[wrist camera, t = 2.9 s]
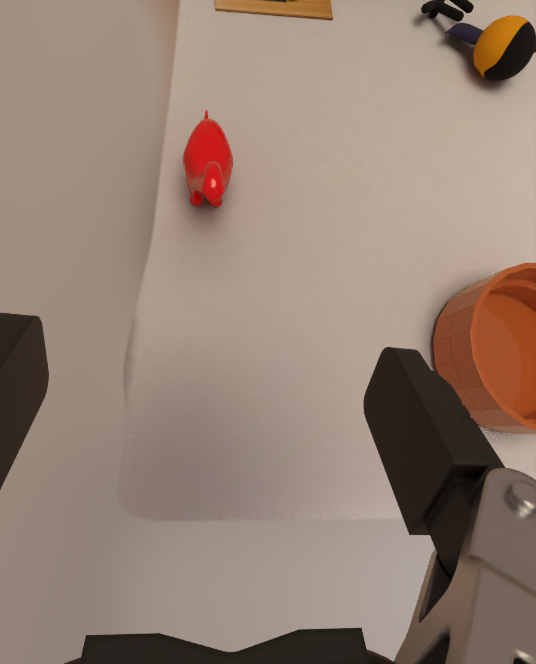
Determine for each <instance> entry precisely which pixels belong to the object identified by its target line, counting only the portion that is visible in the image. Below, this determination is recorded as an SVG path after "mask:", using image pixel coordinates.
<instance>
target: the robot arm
mask: <svg viewBox="0 0 536 664" xmlns="http://www.w3.org/2000/svg"><path fill="white" fill-rule="evenodd" d="M48 380H49V371H48V363H47V356H46V349H45V341H44V335H43V327H42V322H41V320H40V318H39V317H38V316H30V315H20V314H9V313H0V489H1V487H2V485H3V483H4V481H5V479H6V477H7V474H8V472H9V470H10V468H11V466H12V464H13V462H14V460H15V458H16V456H17V454H18V452H19V449H20V448H21V446H22V444H23V441H24V439H25V437H26V435H27V433H28V431H29V429H30V427H31V425H32V423H33V421H34V419H35V417H36V414H37V412H38V410H39V408H40V406H41V404H42V402H43V400H44V398H45V395H46V392H47V387H48ZM364 414H365V418H366V421H367V423H368V426H369V429H370V431H371V434H372V437H373V439H374V442H375V444H376V447H377V450H378V452H379V455H380V458H381V460H382V463H383V466H384V468H385V471H386V474H387V476H388V479H389V482H390V484H391V487H392V490H393V492H394V495H395V498H396V500H397V503H398V506H399V508H400V511H401V514H402V516H403V519H404V521H405V524H406V527H407V530H408V532H409V535H430V536H431V539H432V541H433V544H434V546H435V550H434V551H433V553H432V555H431V558H430V561H429V564H428V568H427V571H426V575H425V578H424V581H423V584H422V588H421V591H420V595H419V598H418V601H417V605H416V607H415V611H414V615H413V618H412V621H411V624H410V627H409V630H408V633H407V635H406V638H405V640H404V642H403V644H402V646H401V647H400V649H399V651H398V653H397V655H396V658H395V660H394V662H393V661H391V660H389V659H388V658H386V657H384V656H381V655H379V654H377V653H375V652H373V651H370V650H367V649H366V645H365V642H364V637H363V633H362V628H340V629H304V630H303V629H302V630H297V631H294V632H291V633H288V634H285V635H282V636H280V637H277V638H274V639H271V640H269V641H266V642H263V643H260V644H257V645H254V646H252V647H249V648H246V649H243V650H240V651H237V652H225V651H221V650H217V649H213V648H210V647H206V646H203V645H199V644H196V643H192V642H189V641H185V640H181V639H178V638H174V637H170V636H167V635H163V634H160V633H155V634H121V635H120V634H118V635H86V639H85V643H84V647H83V652H82V656H81V658H78V659H75V660H72V661H69V662H67V663H64V664H536V480H535V479H533V478H532V477H530V476H528V475H527V474H524V473H522V472H520V471H517V470H514V469H509V468H505V466H504V465H503V463H502V462H501V460H500V459H499V457H498V456H497V454H496V453H495V451H494V450H493V448H492V447H491V445H490V443H489V442H488V440H487V439H486V437H485V436H484V434H483V433H482V431H481V430H480V428H479V427H478V425H477V424H476V422H475V421H474V419H473V418H471V417H470V415H471V414H470V413H469V411H468V410H467V408H466V407H465V405H462V401H461V399H460V398H459V396H458V395H457V393H456V392H455V390H454V388H453V387H452V385H450V384H449V383H448V382H447V381H446V380H445V379H443V378H442V377H441V376H440V375H439V374H438V373H437V372H435V371H431V370H430V368H429V367H428V365H427V364H426V362H425V360H424V359H423V357H422V356H421V354H420V353H419V351H417V350H414V349H403V348H392V347H386V348H385V349H384V350H383V351H382V352H381V355H380V357H379V360H378V362H377V365H376V367H375V370H374V372H373V375H372V377H371V380H370V382H369V385H368V387H367V390H366V393H365V396H364Z"/></svg>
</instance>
